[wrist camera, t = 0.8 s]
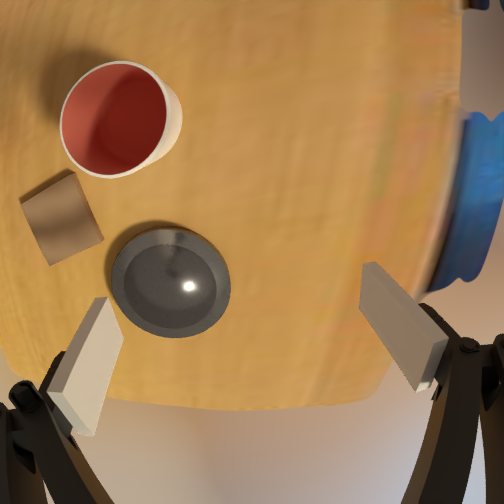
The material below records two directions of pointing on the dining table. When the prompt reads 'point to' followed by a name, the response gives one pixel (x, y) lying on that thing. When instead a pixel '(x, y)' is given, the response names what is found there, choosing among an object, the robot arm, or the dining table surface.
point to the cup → (119, 119)
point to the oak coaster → (62, 220)
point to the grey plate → (171, 282)
